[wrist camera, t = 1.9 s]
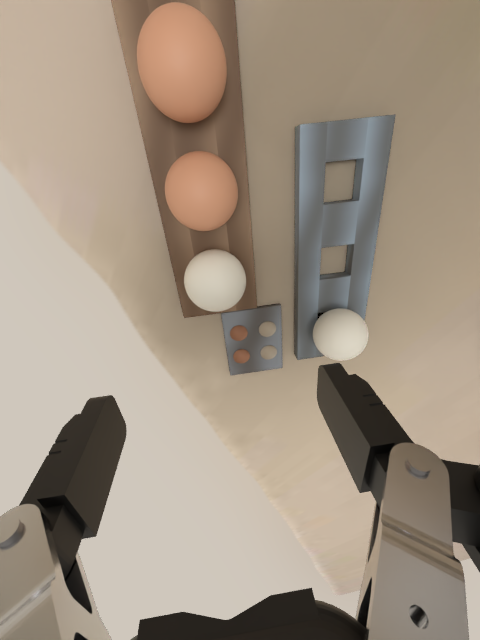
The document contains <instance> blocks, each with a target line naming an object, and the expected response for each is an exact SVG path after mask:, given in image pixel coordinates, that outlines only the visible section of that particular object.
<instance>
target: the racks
mask: <svg viewBox="0 0 480 640" xmlns="http://www.w3.org/2000/svg"><path fill="white" fill-rule="evenodd" d="M111 2H112V6H113V11H114V15H115V19H116V24H117V28H118V32H119V37H120V41H121V45H122V50H123V54H124V59H125V63H126V67H127V72H128V76H129V80H130V85H131V89H132V93H133V98H134V102H135V106H136V111H137V115H138V119H139V124H140V128H141V133H142V137H143V141H144V146H145V150H146V154H147V159H148V163H149V167H150V172H151V176H152V180H153V185H154V189H155V193H156V198H157V202H158V207H159V211H160V215H161V220H162V224H163V228H164V233H165V237H166V241H167V246H168V250H169V254H170V259H171V263H172V268H173V272H174V276H175V281H176V285H177V289H178V294H179V298H180V302H181V307H182V311H183V315H184V318H187V317H194V316H201V315H209V314H216V313H221V316H222V323H223V329H224V336H225V343H226V349H227V356H228V363H229V369H230V375H237V374H244V373H251V372H258V371H264V370H271V369H278V368H283V367H282V326H281V305H280V304H274V305H267V306H259V307H257V299H256V285H255V272H254V258H253V245H252V231H251V218H250V204H249V191H248V177H247V164H246V150H245V137H244V123H243V109H242V96H241V82H240V69H239V55H238V42H237V28H236V15H235V1H234V0H111ZM171 2H179V3H184V4H187V5H190V6H192V7H194V8H195V9H197V10H199V11H200V12H201V13H202V14H204V15H205V16H206V18H207V19H208V20H209V21H210V22H211V24H212V25H213V26H214V28H215V30H216V31H217V33H218V35H219V38H220V40H221V42H222V45H223V48H224V52H225V57H226V65H227V77H226V85H225V90H224V93H223V96H222V98H221V101H220V102H219V104H218V106H217V107H216V109H215V110H214V111H213V112H212V113H211V114H210V115H209V116H208V117H207V118H205V119H203V120H201V121H198V122H195V123H181V122H178V121H175V120H173V119H171V118H169V117H167V116H166V115H164V114H163V113H162V112H161V111H160V110H159V109H158V108H157V107H156V106H155V105H154V104H153V102H152V101H151V100H150V98H149V96H148V95H147V93H146V91H145V89H144V87H143V84H142V82H141V79H140V75H139V71H138V65H137V44H138V38H139V34H140V31H141V29H142V26H143V24H144V22H145V21H146V19H147V18H148V16H149V15H150V14H151V13H152V12H153V11H154V10H155V9H156V8H158V7H160V6H161V5H164V4H166V3H171ZM394 121H395V115H386V116H377V117H367V118H358V119H349V120H339V121H330V122H320V123H311V124H302V125H298V126H296V127H295V339H294V353H295V356H296V358H297V360H300V359H307V358H314V357H321V356H324V355H323V354H322V353H321V352H320V351H319V350H318V349H317V347H316V345H315V343H314V340H313V328H314V325H315V323H316V321H317V318H318V313H323V312H327V311H329V310H332V309H337V308H343V309H348V310H351V311H353V312H355V313H357V314H358V315H359V316H360V317H361V318H362V319H363V320H365V313H366V306H367V300H368V293H369V287H370V280H371V273H372V267H373V260H374V254H375V247H376V240H377V234H378V227H379V221H380V214H381V207H382V201H383V194H384V188H385V181H386V174H387V168H388V161H389V155H390V148H391V141H392V135H393V128H394ZM193 151H206V152H209V153H212V154H214V155H216V156H218V157H220V158H221V159H222V160H223V161H225V163H226V164H227V165H228V166H229V167H230V169H231V170H232V172H233V174H234V176H235V179H236V182H237V187H238V201H237V205H236V208H235V211H234V213H233V214H232V216H231V217H230V219H229V220H228V221H227V222H226V223H225V224H224V225H222V226H221V227H219V228H217V229H214V230H210V231H197V230H193V229H190V228H188V227H186V226H185V225H183V224H182V223H180V222H179V221H178V220H177V219H176V218H175V217H174V215H173V214H172V212H171V210H170V209H169V206H168V204H167V201H166V197H165V181H166V176H167V174H168V171H169V169H170V167H171V166H172V165H173V163H174V162H175V161H176V160H177V159H178V158H180V157H181V156H183V155H185V154H187V153H189V152H193ZM351 159H356V168H355V178H354V188H353V198H352V199H351V200H342V201H334V202H326V203H323V202H324V183H325V163H326V162H333V161H342V160H351ZM341 245H348V248H347V258H346V268H345V272H340V273H332V274H325V275H320V260H321V248H325V247H333V246H341ZM211 249H219V250H223V251H226V252H228V253H230V254H232V255H233V256H235V257H236V258H237V259H238V260H239V262H240V263H241V265H242V266H243V268H244V271H245V275H246V287H245V291H244V293H243V295H242V297H241V299H240V300H239V301H238V302H237V303H236V304H235V305H234V306H233V307H231V308H229V309H227V310H224V311H219V312H212V311H207V310H204V309H202V308H200V307H198V306H197V305H195V304H194V303H193V302H192V300H191V299H190V298H189V296H188V294H187V292H186V289H185V285H184V275H185V271H186V268H187V266H188V264H189V263H190V261H191V260H192V259H193V258H194V257H195V256H196V255H198V254H199V253H201V252H203V251H206V250H211Z"/></svg>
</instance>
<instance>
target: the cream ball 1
mask: <svg viewBox="0 0 480 640" xmlns="http://www.w3.org/2000/svg"><path fill="white" fill-rule="evenodd" d="M184 285H185V289H186V292H187V294H188V296H189V298H190V299H191V300H192V302H193V303H194V304H195V305H197V306H198V307H200V308H202V309H204V310H207V311H212V312H219V311H224V310H227V309H229V308H231V307H233V306H234V305H235V304H236V303H237V302H238V301H239V300H240V299H241V297H242V295H243V293H244V291H245V287H246V275H245V271H244V268H243V266H242V265H241V263H240V262H239V260H238V259H237V258H236V257H235V256H233V255H232V254H230V253H228V252H226V251H223V250H219V249H211V250H206V251H203V252H201V253H199V254H198V255H196V256H195V257H194V258H193V259H192V260H191V261H190V263H189V264H188V266H187V268H186V271H185V275H184Z"/></svg>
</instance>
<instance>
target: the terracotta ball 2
mask: <svg viewBox="0 0 480 640" xmlns="http://www.w3.org/2000/svg"><path fill="white" fill-rule="evenodd" d="M165 197H166V201H167V204H168V206H169V209H170V210H171V212H172V214H173V215H174V217H175V218H176V219H177V220H178V221H179V222H180V223H182V224H183V225H185V226H186V227H188V228H190V229H193V230H197V231H210V230H214V229H217V228H219V227H221V226H222V225H224V224H225V223H226V222H227V221H228V220H229V219H230V217H231V216H232V214H233V213H234V211H235V208H236V205H237V201H238V187H237V182H236V179H235V176H234V174H233V172H232V170H231V169H230V167H229V166H228V165H227V164H226V163H225V161H223V160H222V159H221V158H220V157H218V156H216V155H214V154H212V153H209V152H206V151H193V152H189V153H187V154H185V155H183V156H181V157H180V158H178V159H177V160H176V161H175V162H174V163H173V165H172V166H171V167H170V169H169V171H168V174H167V176H166V181H165Z"/></svg>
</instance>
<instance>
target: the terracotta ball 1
mask: <svg viewBox="0 0 480 640" xmlns="http://www.w3.org/2000/svg"><path fill="white" fill-rule="evenodd" d="M137 65H138V71H139V75H140V79H141V82H142V84H143V87H144V89H145V91H146V93H147V95H148V96H149V98H150V100H151V101H152V102H153V104H154V105H155V106H156V107H157V108H158V109H159V110H160V111H161V112H162V113H163V114H164V115H166V116H167V117H169V118H171V119H173V120H175V121H178V122H181V123H195V122H198V121H201V120H203V119H205V118H207V117H208V116H209V115H210V114H211V113H212V112H213V111H214V110H215V109H216V107H217V106H218V104H219V102H220V101H221V98H222V96H223V93H224V90H225V85H226V77H227V65H226V57H225V52H224V48H223V45H222V42H221V40H220V38H219V35H218V33H217V31H216V30H215V28H214V26H213V25H212V24H211V22H210V21H209V20H208V19H207V18H206V16H205V15H204V14H202V13H201V12H200V11H199V10H197V9H195V8H194V7H192V6H190V5H187V4H184V3H179V2H171V3H166V4H164V5H161V6H160V7H158V8H156V9H155V10H154V11H153V12H152V13H151V14H150V15H149V16H148V18H147V19H146V21H145V22H144V24H143V26H142V29H141V31H140V34H139V38H138V44H137Z"/></svg>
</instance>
